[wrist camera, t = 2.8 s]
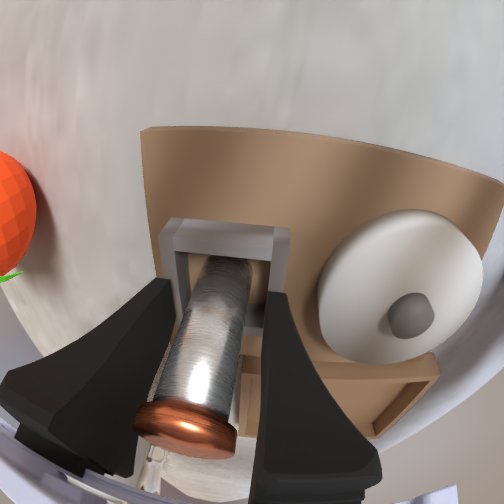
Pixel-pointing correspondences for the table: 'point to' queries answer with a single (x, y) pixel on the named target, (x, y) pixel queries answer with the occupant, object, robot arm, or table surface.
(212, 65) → the table surface
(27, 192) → the clementine
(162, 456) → the beer glass
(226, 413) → the lock pin
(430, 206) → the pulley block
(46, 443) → the robot arm
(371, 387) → the tray
